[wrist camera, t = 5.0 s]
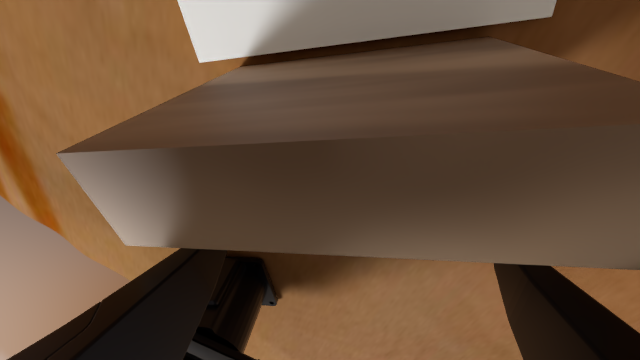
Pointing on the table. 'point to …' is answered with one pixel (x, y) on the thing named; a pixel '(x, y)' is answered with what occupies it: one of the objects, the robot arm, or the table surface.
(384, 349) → the table surface
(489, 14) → the mat
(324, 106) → the walnut slab
